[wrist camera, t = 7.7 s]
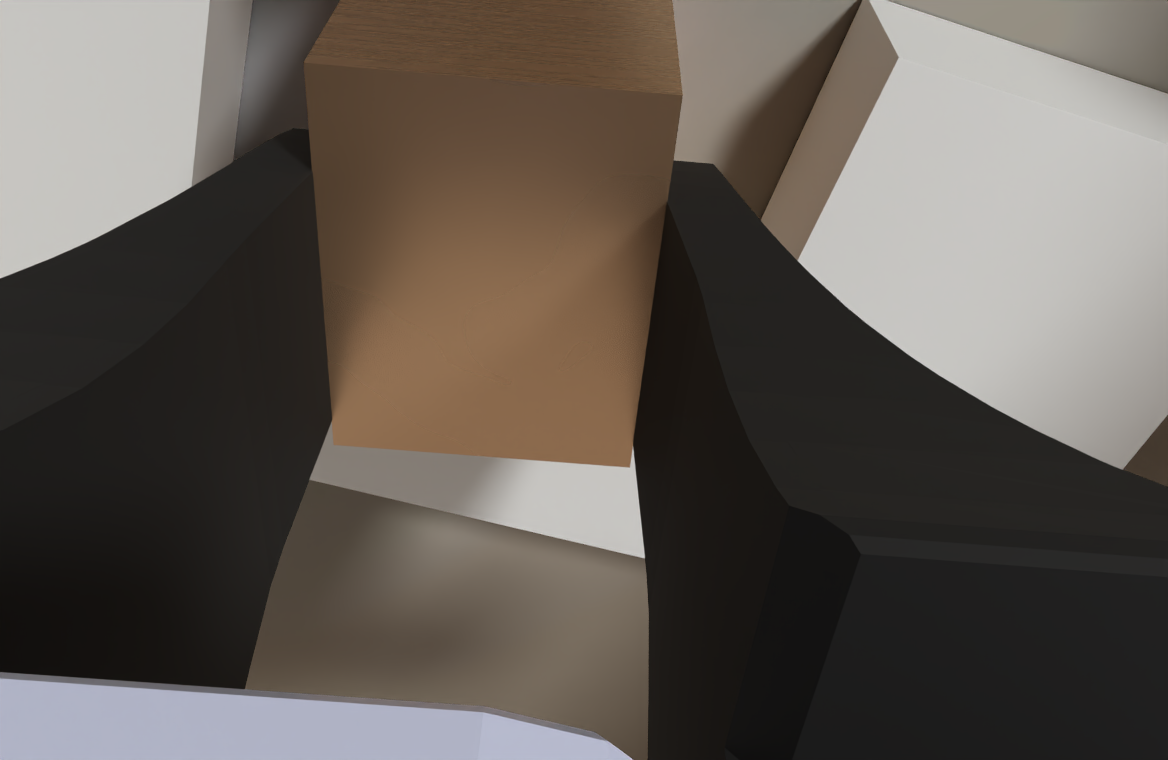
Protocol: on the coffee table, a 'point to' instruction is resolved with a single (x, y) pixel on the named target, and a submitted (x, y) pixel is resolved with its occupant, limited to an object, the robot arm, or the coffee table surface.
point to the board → (794, 216)
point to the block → (491, 220)
